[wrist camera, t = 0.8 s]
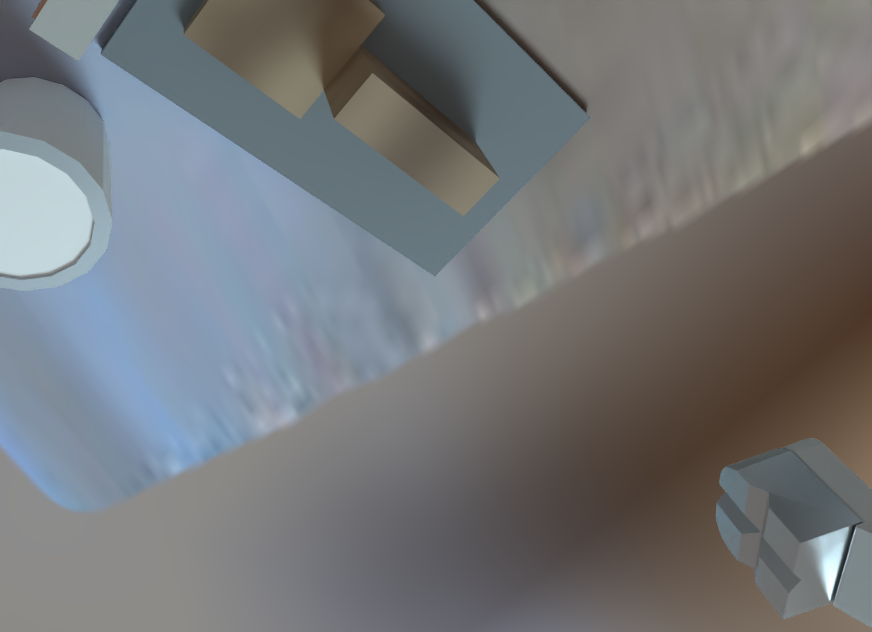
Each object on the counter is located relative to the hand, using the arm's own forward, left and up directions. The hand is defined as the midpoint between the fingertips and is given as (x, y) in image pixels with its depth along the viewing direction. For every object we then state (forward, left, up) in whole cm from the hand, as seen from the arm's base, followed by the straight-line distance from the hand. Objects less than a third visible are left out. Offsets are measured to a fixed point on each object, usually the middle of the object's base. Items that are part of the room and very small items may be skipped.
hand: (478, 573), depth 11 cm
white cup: (+11, -5, -29) cm, 31 cm away
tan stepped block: (0, +4, -28) cm, 28 cm away
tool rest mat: (0, +5, -29) cm, 29 cm away
